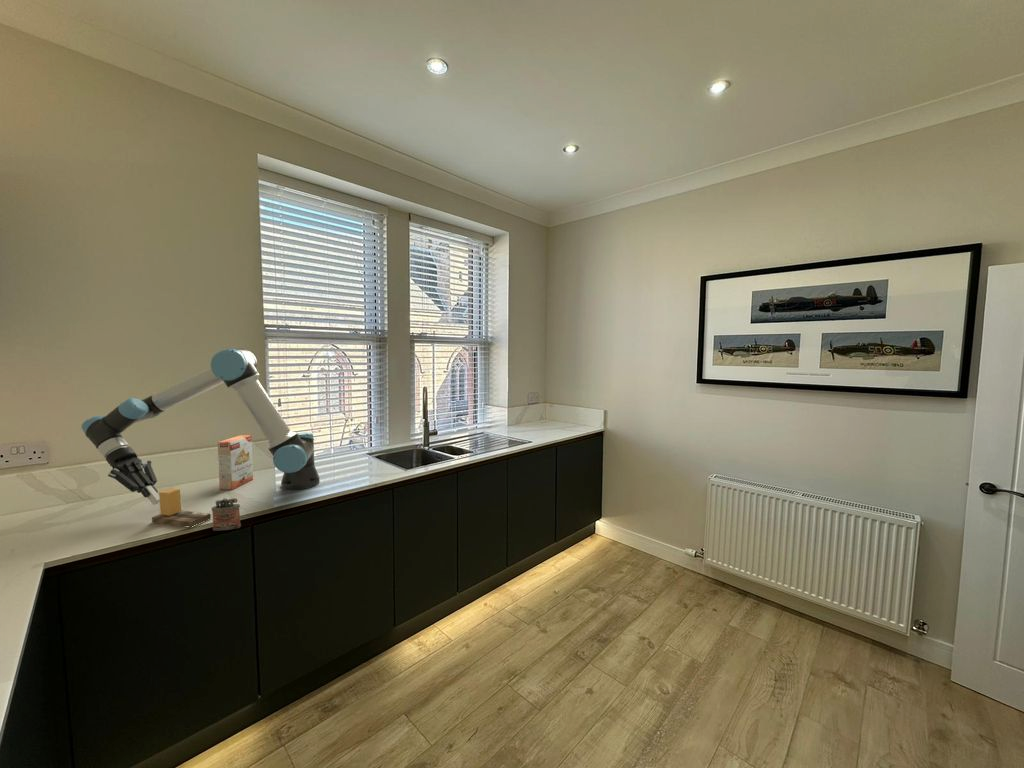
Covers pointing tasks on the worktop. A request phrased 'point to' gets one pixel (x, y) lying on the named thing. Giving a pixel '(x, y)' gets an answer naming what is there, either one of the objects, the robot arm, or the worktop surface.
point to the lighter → (226, 515)
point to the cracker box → (235, 461)
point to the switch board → (182, 518)
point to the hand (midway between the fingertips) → (157, 501)
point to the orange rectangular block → (170, 501)
